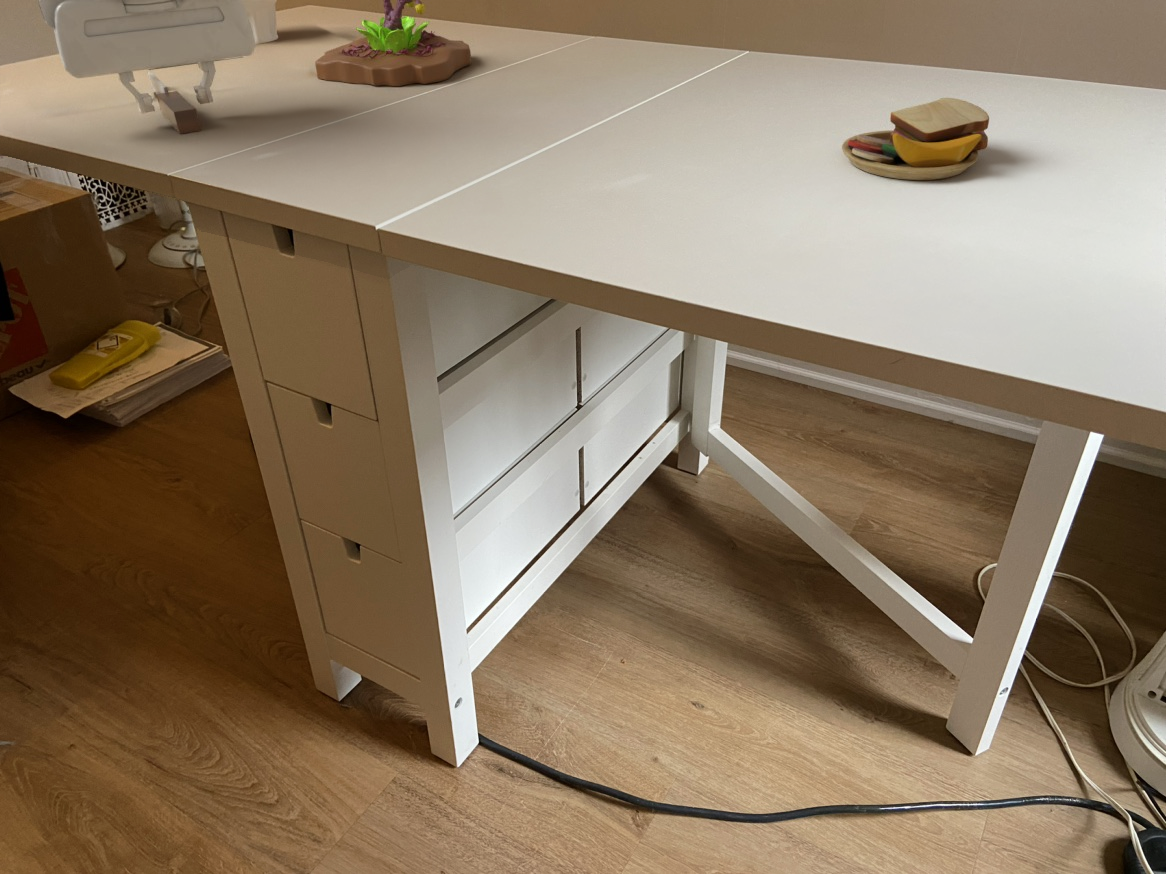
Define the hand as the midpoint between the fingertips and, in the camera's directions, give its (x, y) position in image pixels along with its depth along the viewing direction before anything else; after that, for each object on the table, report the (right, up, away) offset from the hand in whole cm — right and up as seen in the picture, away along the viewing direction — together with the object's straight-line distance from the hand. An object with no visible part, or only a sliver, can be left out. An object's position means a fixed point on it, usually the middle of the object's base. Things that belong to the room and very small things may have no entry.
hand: (176, 107), depth 101 cm
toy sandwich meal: (+79, -11, -16) cm, 81 cm away
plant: (+21, +13, +21) cm, 33 cm away
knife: (-3, +1, +4) cm, 5 cm away
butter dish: (-11, +17, +27) cm, 34 cm away
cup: (-5, +24, +37) cm, 44 cm away
